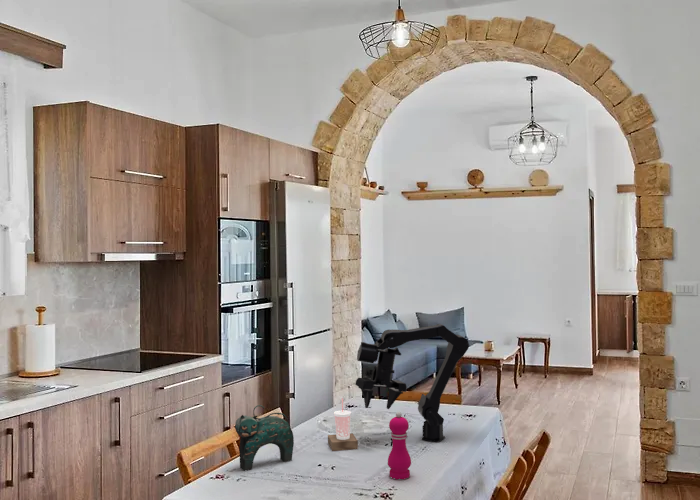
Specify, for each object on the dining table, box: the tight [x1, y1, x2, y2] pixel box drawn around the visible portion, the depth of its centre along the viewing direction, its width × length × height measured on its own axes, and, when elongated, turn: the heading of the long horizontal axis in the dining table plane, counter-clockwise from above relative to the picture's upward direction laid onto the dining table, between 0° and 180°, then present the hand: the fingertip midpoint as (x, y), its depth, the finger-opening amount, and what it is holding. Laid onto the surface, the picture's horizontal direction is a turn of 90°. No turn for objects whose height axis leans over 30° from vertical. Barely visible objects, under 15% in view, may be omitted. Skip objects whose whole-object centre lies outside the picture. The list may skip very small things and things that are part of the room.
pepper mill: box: [387, 411, 412, 480], centre depth 224 cm, size 7×7×20 cm
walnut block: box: [327, 432, 359, 452], centre depth 255 cm, size 9×9×3 cm
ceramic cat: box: [234, 404, 295, 472], centre depth 237 cm, size 20×6×20 cm, turn 122°
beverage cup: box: [333, 397, 352, 440], centre depth 255 cm, size 6×6×14 cm
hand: (377, 408), depth 259 cm, fingers open, 9 cm apart
